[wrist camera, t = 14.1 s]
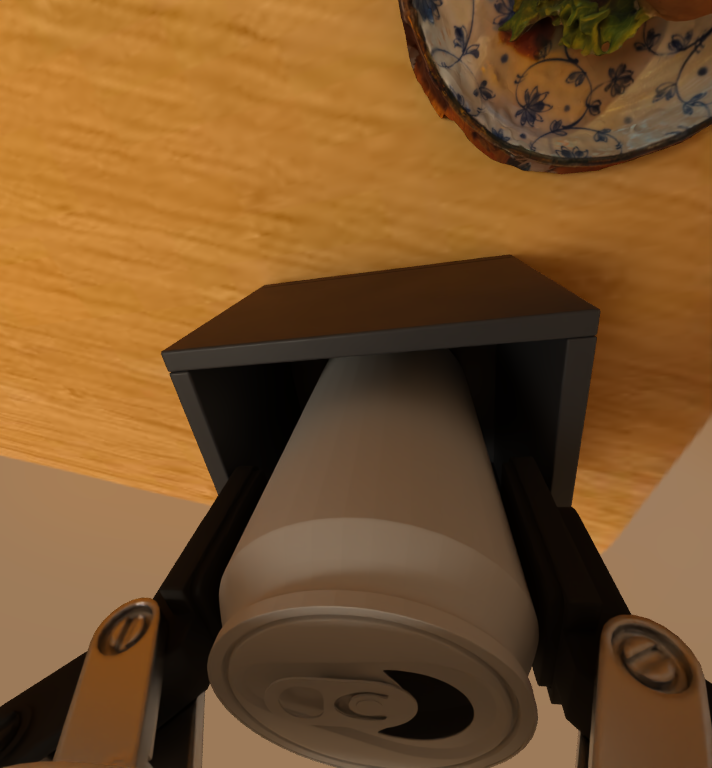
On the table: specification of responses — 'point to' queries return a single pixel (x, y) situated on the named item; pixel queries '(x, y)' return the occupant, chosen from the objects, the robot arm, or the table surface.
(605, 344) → the table surface
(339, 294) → the bin
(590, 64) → the burger on plate
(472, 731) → the beverage can
